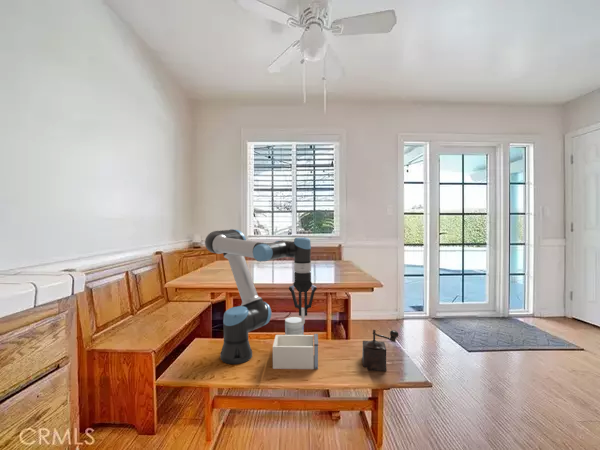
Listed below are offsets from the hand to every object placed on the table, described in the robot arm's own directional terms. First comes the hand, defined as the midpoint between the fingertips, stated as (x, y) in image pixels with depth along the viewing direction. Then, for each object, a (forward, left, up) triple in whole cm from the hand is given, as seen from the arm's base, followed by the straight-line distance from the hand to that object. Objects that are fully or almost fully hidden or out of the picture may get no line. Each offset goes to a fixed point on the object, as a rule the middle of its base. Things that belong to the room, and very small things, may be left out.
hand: (303, 322), depth 153 cm
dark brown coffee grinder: (+31, +16, -20) cm, 40 cm away
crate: (-4, -2, -20) cm, 20 cm away
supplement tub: (-13, +14, -20) cm, 27 cm away
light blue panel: (+5, +3, -18) cm, 19 cm away
